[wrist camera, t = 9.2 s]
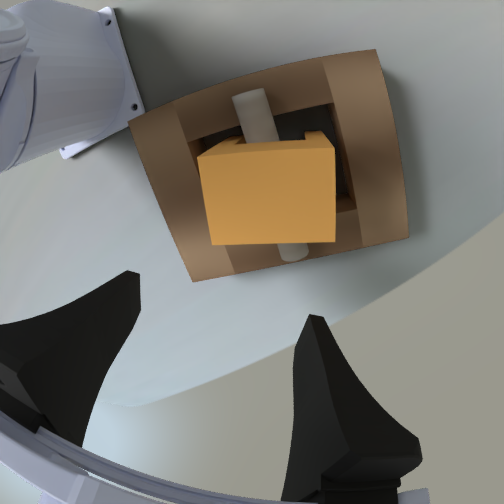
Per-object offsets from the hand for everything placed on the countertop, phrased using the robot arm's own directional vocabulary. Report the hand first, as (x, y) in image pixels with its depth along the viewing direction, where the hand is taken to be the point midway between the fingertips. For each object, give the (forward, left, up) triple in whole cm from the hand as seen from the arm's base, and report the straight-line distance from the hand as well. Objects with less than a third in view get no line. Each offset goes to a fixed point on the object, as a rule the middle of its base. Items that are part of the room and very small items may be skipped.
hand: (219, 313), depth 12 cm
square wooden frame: (-4, +3, -9) cm, 10 cm away
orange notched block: (-3, +3, -9) cm, 10 cm away
